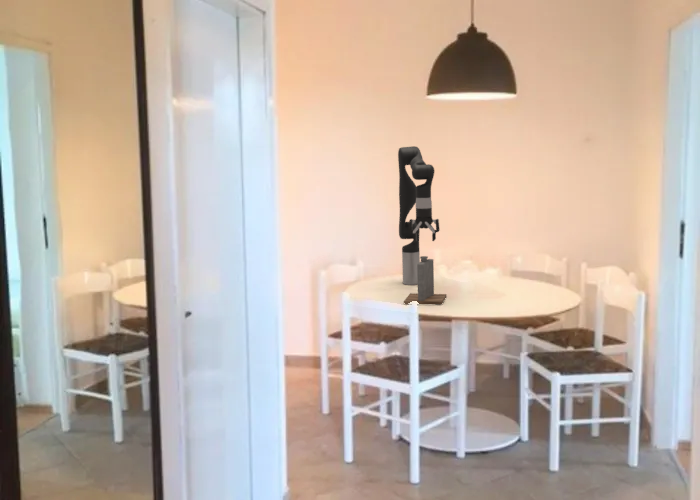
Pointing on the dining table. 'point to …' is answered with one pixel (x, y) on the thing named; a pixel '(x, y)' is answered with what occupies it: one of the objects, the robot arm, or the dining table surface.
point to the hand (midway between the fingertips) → (424, 241)
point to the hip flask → (425, 278)
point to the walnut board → (430, 300)
